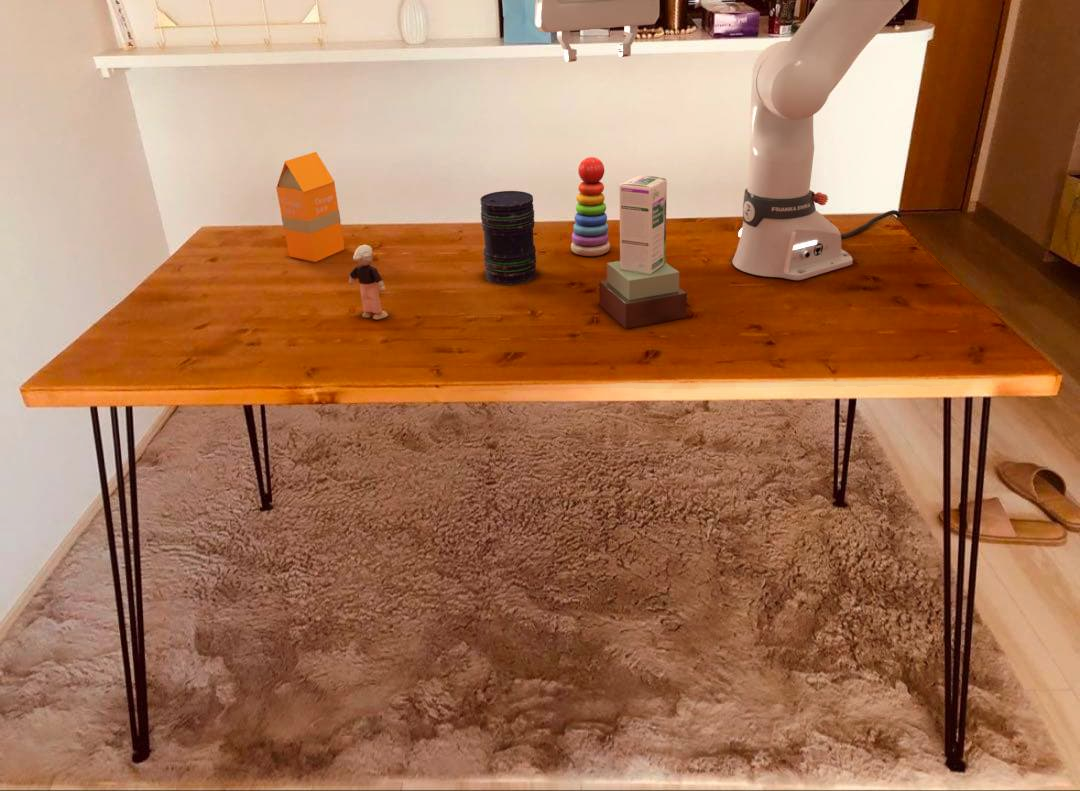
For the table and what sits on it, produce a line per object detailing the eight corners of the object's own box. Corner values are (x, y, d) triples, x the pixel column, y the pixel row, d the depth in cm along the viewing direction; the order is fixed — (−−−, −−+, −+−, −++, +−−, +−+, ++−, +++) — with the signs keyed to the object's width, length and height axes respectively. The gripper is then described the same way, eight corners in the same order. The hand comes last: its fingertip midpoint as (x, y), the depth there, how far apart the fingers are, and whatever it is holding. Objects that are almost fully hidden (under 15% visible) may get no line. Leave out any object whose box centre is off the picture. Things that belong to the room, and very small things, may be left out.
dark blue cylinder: (524, 262, 168) (520, 187, 160) (545, 278, 160) (542, 200, 153) (477, 272, 164) (471, 195, 157) (497, 288, 156) (491, 208, 149)
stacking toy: (607, 258, 168) (607, 163, 159) (567, 257, 170) (565, 162, 161) (612, 245, 175) (613, 153, 166) (574, 244, 176) (572, 153, 167)
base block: (656, 295, 151) (656, 271, 148) (685, 317, 142) (687, 292, 139) (599, 305, 148) (599, 281, 145) (625, 329, 138) (626, 303, 136)
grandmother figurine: (397, 313, 148) (388, 243, 142) (387, 321, 145) (377, 250, 139) (358, 308, 150) (348, 239, 144) (347, 317, 147) (336, 247, 141)
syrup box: (650, 275, 137) (653, 186, 130) (618, 269, 140) (619, 182, 133) (665, 264, 141) (668, 177, 134) (634, 259, 144) (635, 173, 137)
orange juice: (288, 256, 176) (270, 159, 166) (318, 243, 183) (303, 149, 173) (315, 262, 172) (298, 163, 163) (345, 249, 179) (331, 153, 169)
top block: (654, 274, 147) (654, 254, 146) (678, 291, 140) (679, 271, 138) (606, 282, 145) (606, 262, 143) (629, 300, 137) (629, 280, 136)
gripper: (540, -34, 124) (543, 66, 131) (665, -41, 130) (662, 55, 137) (526, -35, 130) (530, 62, 136) (647, -41, 135) (645, 51, 142)
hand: (597, 58), depth 137 cm, fingers open, 8 cm apart
